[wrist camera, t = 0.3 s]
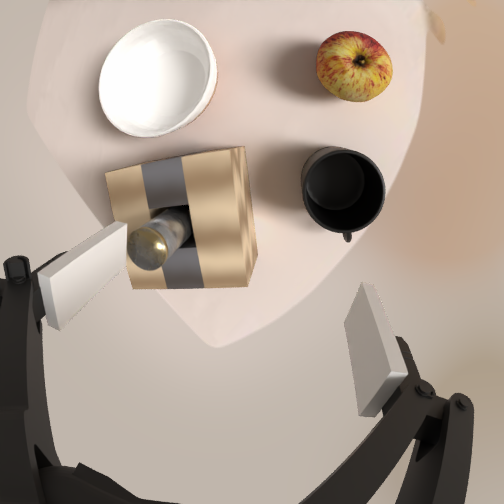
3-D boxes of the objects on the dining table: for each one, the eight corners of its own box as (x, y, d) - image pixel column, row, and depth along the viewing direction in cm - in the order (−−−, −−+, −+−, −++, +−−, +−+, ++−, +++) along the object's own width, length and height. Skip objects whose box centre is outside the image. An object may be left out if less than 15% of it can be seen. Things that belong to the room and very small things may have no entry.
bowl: (240, 118, 38) (227, 115, 31) (139, 149, 41) (110, 154, 34) (215, 21, 33) (198, 0, 25) (119, 59, 36) (90, 50, 29)
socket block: (141, 163, 42) (104, 173, 33) (244, 146, 39) (228, 149, 30) (161, 260, 48) (132, 289, 39) (257, 254, 45) (247, 286, 36)
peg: (159, 208, 36) (122, 230, 28) (191, 204, 35) (160, 226, 27) (166, 241, 37) (132, 271, 29) (197, 238, 37) (170, 270, 28)
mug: (310, 235, 43) (313, 260, 34) (294, 152, 39) (294, 156, 30) (373, 225, 41) (390, 247, 32) (361, 142, 37) (379, 144, 28)
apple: (376, 49, 31) (397, 27, 22) (380, 109, 34) (404, 102, 25) (311, 44, 32) (315, 18, 23) (315, 105, 36) (321, 95, 27)
